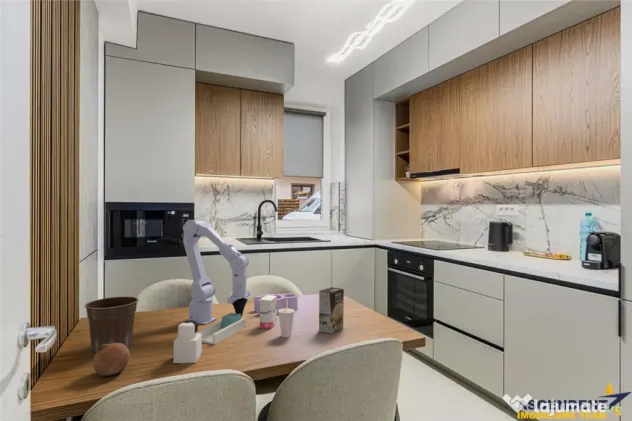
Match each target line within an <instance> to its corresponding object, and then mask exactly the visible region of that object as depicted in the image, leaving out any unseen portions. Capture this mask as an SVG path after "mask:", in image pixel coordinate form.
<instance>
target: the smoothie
mask: <svg viewBox="0 0 632 421" xmlns="http://www.w3.org/2000/svg"><path fill="white" fill-rule="evenodd" d="M295 313H296V311H294V310H293V309H290V308H288V299H286V308H284V309H280V310H278V316H279V317H278V318H279V326H280V333H281V334H280V336H281V337H283V338H291V337H292V333H293V332H292V331H293V322H294V316H295V315H294V314H295Z"/></svg>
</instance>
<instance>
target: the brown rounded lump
mask: <svg viewBox="0 0 632 421" xmlns="http://www.w3.org/2000/svg"><path fill="white" fill-rule="evenodd" d="M97 350H98V352H97V353H94V356H93V358H92V366H93V369H94V371H95V372H96V373H97V374H98V375H100V376H103V377H107V376H113V375H117V374H116V373H118V374H120V373H121V372H123V371H124V370H125V369H126V367H127V365H128V363H129V361H130V358H131V354H130V350H129V348H127V346H125V345H124V344H122V343H113V344H104V345H101V347H100V348H98V349H97ZM119 372H120V373H119Z"/></svg>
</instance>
